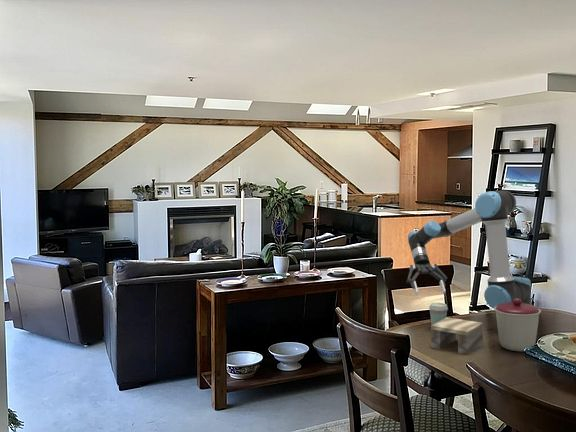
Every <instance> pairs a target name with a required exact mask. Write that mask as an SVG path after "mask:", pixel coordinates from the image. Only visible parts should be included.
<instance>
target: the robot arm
mask: <svg viewBox="0 0 576 432" xmlns="http://www.w3.org/2000/svg"><path fill="white" fill-rule="evenodd" d="M516 206H517V200H516V197H515V195H514V194H513V193H512V192H510V191H509V190H493V191H491V190H489V191H485V192H483V193H481V194H480V195H479V196H477V198H476V201H475V204H474V208H472V209H469V210H467V211H464V212H463V213H461V214H458V215H456V216H453V217H451V218H449V219H447V220H445V221H443V222H439V223H438V222H437V221H434V220H429V222H426V224H424V226H423V227H422V228H421V229H420V230H413V231H411V232H409V233H408V235H407V240H408V241H407V243H408V245H409V248H410V253H411V255H412V259H413V264H414V265H413V264H410V266H409V272H408V274H407V275H408V276H407V279H406V284H408V283H409V285H410V286H411V289H413V290H414V293H415V296H418V294H419V290H418V286H417V283H416V282H417V281H416V279H417V278H418V276H419V275H420V274H421V275H427V274H428V275H430V276H432V277H433V278H435V279H436V280H437V281H439V286H440V289H441V293H442V295H445V293H446V292H447V291H446V282H447V280H448V277H447V275H446V274H445V273H444V272H443V271H442V270H441V269H440V268H439V267H438V265H437V263H434V264H431V262H430V259H429V256H428V253H427V252H428V251H427V248H426V245H427V244H428V243H429V242H431V240H434V239H440V238H447V237H451V236H453V234H455V233H457V232H460V231H462V230H465V229H467V228H469V227H472V226H474V225H477V224H480V223H483V225H485V233H486V235H485V236H486V244H487V254H488V264H489V273H490V276H489V278H488V279H487V287H486V288H485V290H484V292H483V297H484V300H485V302H486V303H487V304H486V305H488V306H490V307H491V309H494V307H495V306H497V305H499V304H502V303H508V302H513V299H514V298H519V299H521V300H522V303H526V304H531V305H532V283H531V282H532V281H531V280H530V278H527V277H520V276H513V275H511V268H510V261H509V260H510V259H509V251H508V248H509V247H508V239H507V231H506V230H507V228H506V223H507V222H508V220H509V214H511V213H512V212H513V211H514V210H515V209H516ZM414 270H415V271H416V272H415V273H414V275H413V276H412V273H413V271H414ZM411 277H412V278H411Z"/></svg>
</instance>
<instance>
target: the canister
mask: <svg viewBox="0 0 576 432" xmlns="http://www.w3.org/2000/svg"><path fill="white" fill-rule="evenodd" d="M494 312H495V317H496V324H497V326H496V327H497V334H498V340H499V343H500V345H501V347H502V348H504V349H506V350H509V351H512V352H513V351H514V352H525V351H524V349H525V348H527V347H531V346H534V345H535V346H536V341H537V340H536V339H537V335H538V327H539V319H540V314H541V313H542V310H541V309H540V308H539V307H537V306H535V305H534V304H532V303H531V304H526V303H522V300H521V299H519V298H514V299H513V302H508V303H502V304H499V305H497V306H495V307H494ZM535 346H534V347H535Z"/></svg>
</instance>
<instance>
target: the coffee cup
mask: <svg viewBox="0 0 576 432" xmlns="http://www.w3.org/2000/svg"><path fill="white" fill-rule="evenodd" d="M448 308H449V307H448V305H447V304H446V303H445V302H432V303H430V304H429V307H428V310H429V314H430V322H431V323H430V324H431V325H433V324H435V323H437V322H439V321H441V320H443V319H445V318H447V317H448V316H447V315H448V313H447V312H448V310H449V309H448Z"/></svg>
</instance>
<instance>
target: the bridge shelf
mask: <svg viewBox="0 0 576 432" xmlns="http://www.w3.org/2000/svg"><path fill="white" fill-rule="evenodd" d="M483 325H484V323H483V322H479V321H472V320H467V319H466V320H465V319H460V318H455V317H454V318H453V317H448V316H446V318H445V319H443V320H441V321H439V322H437V323H435V324H433V325H432V324H431V325H430V345H431V346H430V348H433V349H437V350H441V349H442V348H445V347H447V346H448V345H449V344H451V343H453V342H454V341H457V352H458V354H463V355H467V356H468V355H470V354H471V353H472V352H474V351H475V350H477V349H479V348H481V346H483V344H484V343H483V342H484V341H483V340H484V339H483V338H484V336H483V334H484V332H483V329H484V327H483ZM456 335H457V336H456Z"/></svg>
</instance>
